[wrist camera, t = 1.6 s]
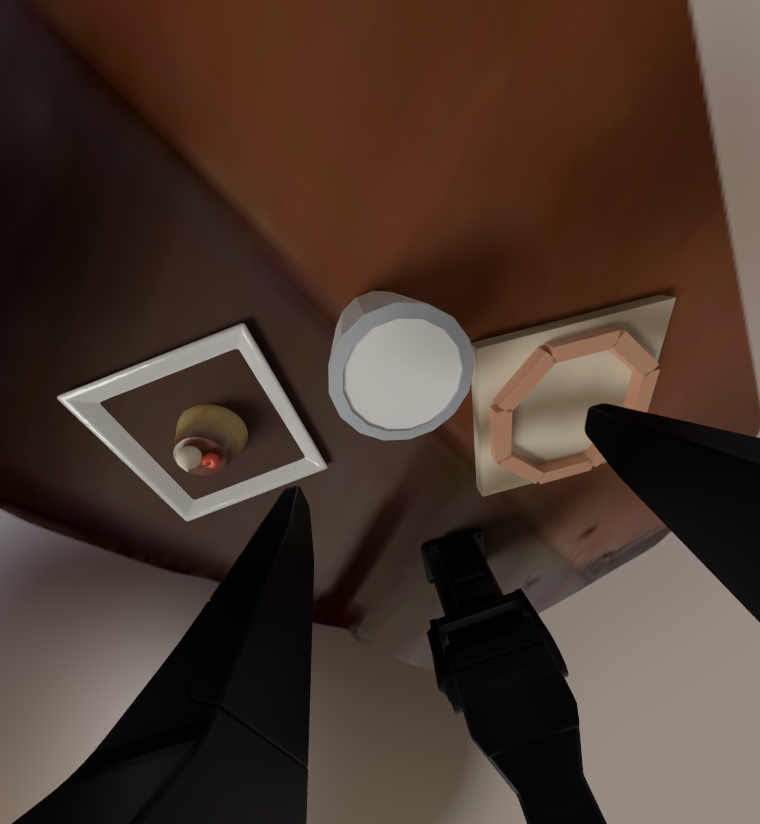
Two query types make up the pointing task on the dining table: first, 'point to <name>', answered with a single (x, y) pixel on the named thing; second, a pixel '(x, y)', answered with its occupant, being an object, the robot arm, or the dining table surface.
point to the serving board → (556, 386)
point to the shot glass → (398, 366)
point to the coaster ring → (535, 370)
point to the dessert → (196, 426)
